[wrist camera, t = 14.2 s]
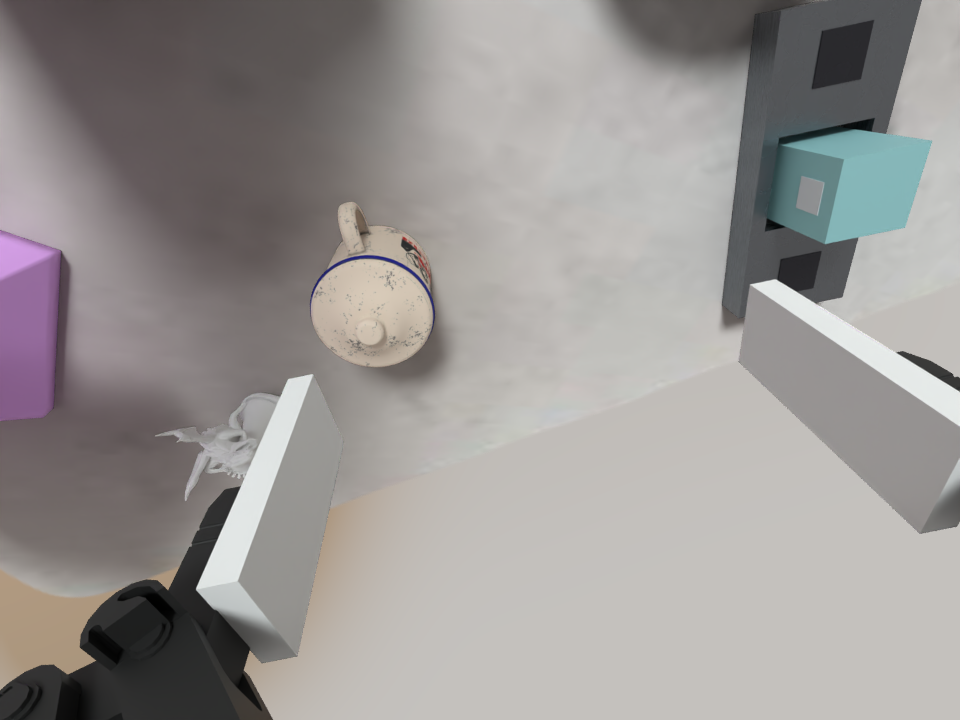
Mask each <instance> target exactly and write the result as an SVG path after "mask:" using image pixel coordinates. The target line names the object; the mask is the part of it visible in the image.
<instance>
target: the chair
mask: <svg viewBox="0 0 960 720" xmlns="http://www.w3.org/2000/svg"><path fill="white" fill-rule="evenodd" d="M60 265H61V251H60V250H57V249H54V248H52V247H49V246H46V245H43V244H40V243H37V242H34V241H31V240H28V239H25V238H22V237H19V236H16V235H13V234H10V233H7V232H4V231H2V230H0V421H6V420H18V419H31V418H43V417H44V416H45V415H46V414H48V413H49V412H50V411H51V410H52V409H53V408H54V389H55V368H56V348H57V327H58V307H59V286H60Z"/></svg>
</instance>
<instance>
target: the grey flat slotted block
mask: <svg viewBox="0 0 960 720" xmlns="http://www.w3.org/2000/svg"><path fill="white" fill-rule="evenodd" d="M921 1H922V0H822V1H817V2H812V3H808V4H803V5H798V6H794V7H789V8H784V9H779V10H775V11H770V12H765V13H761V14H756V15H755V21H754V30H753V39H752V47H751V56H750V65H749V74H748V82H747V91H746V100H745V109H744V117H743V126H742V135H741V144H740V152H739V161H738V170H737V179H736V187H735V196H734V205H733V214H732V222H731V231H730V240H729V249H728V257H727V266H726V275H725V283H724V292H723V301H722V305H723V306H724V307H725V308H727V309H728V310H729V311H730V312H731V313H733V314H734V315H735V316H736V317H738V318H743V317H745V315H746V308H747V301H748V294H749V287H750V284H755V283H760V282H765V281H770V280H774V279H776V280H778V281H779V282H781V283H783V284H784V285H786V286H788V287H789V288H791V289H792V290H794V291H796V292H797V293H799V294H801V295H802V296H804V297H806V298H807V299H809V300H810V301H812V302H814V303H817V302H822V301H826V300H831V299H836V298H841V297H843V293H844V289H845V286H846V282H847V278H848V274H849V271H850V267H851V263H852V259H853V256H854V252H855V248H856V244H857V241H858V237H857V238H852V239H847V240H843V241H838V242H833V243H828V244H823V243H821V242H819V241H817V240H815V239H812V238H810V237H808V236H806V235H803V234H801V233H799V232H797V231H794V230H792V229H790V228H788V227H785V226H783V225H781V224H779V223H777V222H774V221H772V220H770V219H768V218H767V213H768V207H769V201H770V194H771V188H772V181H773V175H774V168H775V162H776V155H777V149H778V142H779V138H780V137H785V136H790V135H795V134H799V133H804V132H809V131H814V130H819V129H823V128H828V127H833V126H838V125H843V124H844V125H843V128H849V129H856V130H863V131H869V132H876V133H883V134H886V132H887V128H888V125H889V121H890V117H891V113H892V110H893V106H894V102H895V98H896V95H897V91H898V87H899V83H900V80H901V76H902V72H903V68H904V65H905V61H906V57H907V53H908V50H909V46H910V42H911V38H912V35H913V31H914V27H915V23H916V20H917V16H918V12H919V8H920V5H921Z"/></svg>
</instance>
